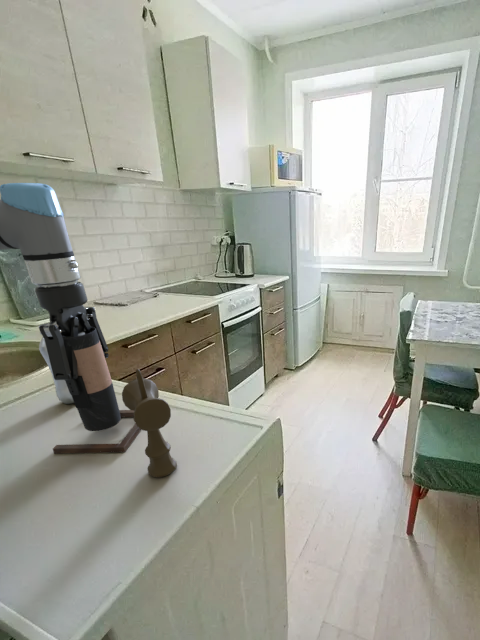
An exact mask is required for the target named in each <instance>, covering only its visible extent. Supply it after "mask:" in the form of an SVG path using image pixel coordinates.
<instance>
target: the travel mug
mask: <svg viewBox="0 0 480 640" xmlns="http://www.w3.org/2000/svg"><path fill="white" fill-rule="evenodd" d="M91 328H92V331H91V332H90V333H84V332H80V333H79V334H78V336H77V337H71V336H63V337H71V338H63V342H64V346H65V348H67V347H70V346H71V345H72V347H73V350H74V353H75V356H76V359H77V368H78V376H82V378H83V381H84V384H85V387H86V390H87V393H88V396H89V399H90V402H91V405H92V406H91V407H90V408H76V409H77V412H78V415H79V417H80V420H81V422H82V424H83V427H84V429H85V430H86V431H88V432H101V431H105V430H109V429H111V428H113V427H115V426H117V425H118V424H119V423H120V421H121V420H122V417H121V416H120V411H119V410H120V408H119V403H118V400H117V395H116V392H115V387H114V383H113V380H112V377H111V373H110V370H109V367H108V363H107V361H106V358H105V357H104V353H103V350H102V346H101V343H100V340H99V337H98V333H97V330H96V328H94V327H91ZM70 372H71V371H70Z"/></svg>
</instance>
